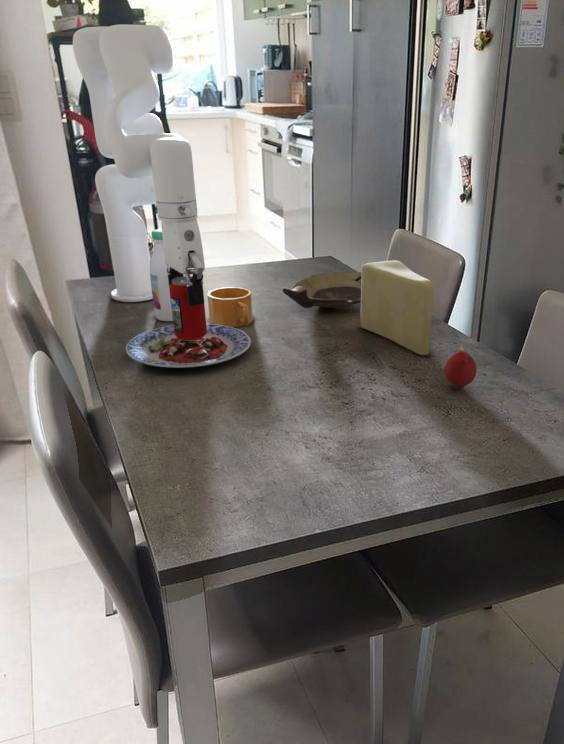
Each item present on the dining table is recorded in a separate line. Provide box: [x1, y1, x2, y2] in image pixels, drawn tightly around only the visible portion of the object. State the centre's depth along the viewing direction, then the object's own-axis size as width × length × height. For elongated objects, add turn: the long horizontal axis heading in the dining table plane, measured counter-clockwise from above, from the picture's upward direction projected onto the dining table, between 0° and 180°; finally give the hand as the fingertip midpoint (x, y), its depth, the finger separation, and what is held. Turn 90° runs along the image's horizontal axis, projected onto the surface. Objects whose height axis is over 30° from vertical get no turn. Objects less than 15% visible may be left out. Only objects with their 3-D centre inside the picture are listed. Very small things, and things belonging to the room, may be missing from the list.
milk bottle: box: [150, 228, 185, 322], centre depth 162 cm, size 8×8×20 cm
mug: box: [207, 286, 254, 328], centre depth 162 cm, size 14×10×6 cm
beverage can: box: [169, 275, 207, 341], centre depth 143 cm, size 7×7×12 cm
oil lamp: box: [281, 271, 362, 309], centre depth 174 cm, size 22×30×8 cm
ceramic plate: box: [125, 323, 252, 369], centre depth 146 cm, size 26×26×3 cm
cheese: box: [360, 259, 434, 356], centre depth 150 cm, size 22×10×15 cm, turn 24°
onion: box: [444, 347, 478, 390], centre depth 129 cm, size 6×6×8 cm
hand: (186, 298), depth 142 cm, fingers open, 9 cm apart
